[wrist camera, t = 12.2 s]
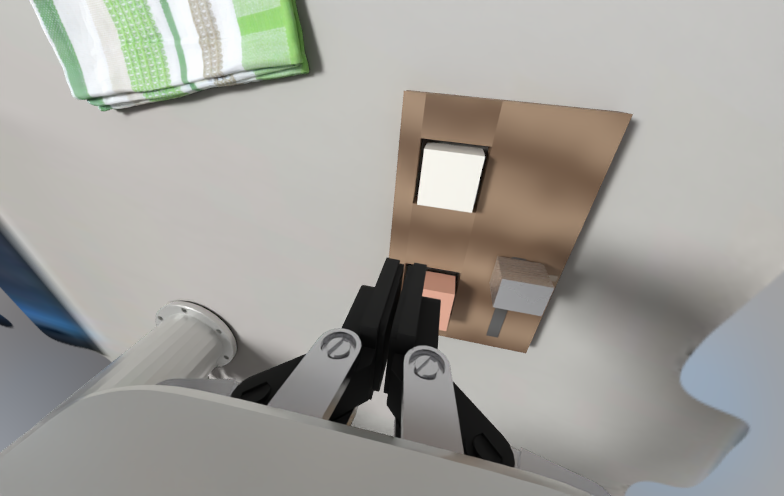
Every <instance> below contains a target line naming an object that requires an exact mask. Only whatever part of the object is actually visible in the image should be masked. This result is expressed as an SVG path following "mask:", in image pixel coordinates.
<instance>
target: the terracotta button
mask: <svg viewBox="0 0 784 496" xmlns="http://www.w3.org/2000/svg"><path fill="white" fill-rule="evenodd" d="M422 296H424V297H429V298H434V299H440V300H441V307H440V321H439V330H442V331H446V330H447V326H448V321H449V317H450V313H451V309H452V305H453V301H454V296H455V276H452V275H446V274H441V273H435V272H430V271H426V275H425V281H424V288H423V294H422Z"/></svg>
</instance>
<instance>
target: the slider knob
mask: <svg viewBox="0 0 784 496" xmlns="http://www.w3.org/2000/svg"><path fill="white" fill-rule="evenodd" d="M489 283H490V291H491V298H492V305H493V307H495V308H500V309H505V310H510V311H516V312H521V313H526V314H532V315H537V316H542V314H543V312H544V310H545V308H546V305H547V303H548V301H549V299H550V296H551V294H552V292H553V290H554V286H553V284H552V282H551V280H550V277H549V275H548V273H547V271H546V268H545V266H544V264H541V263H535V262H529V261H523V260H517V259H511V258H505V257H499V256H497V259H496V263H495V266H494V269H493V273H492V276H491V279H490V282H489Z"/></svg>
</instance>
